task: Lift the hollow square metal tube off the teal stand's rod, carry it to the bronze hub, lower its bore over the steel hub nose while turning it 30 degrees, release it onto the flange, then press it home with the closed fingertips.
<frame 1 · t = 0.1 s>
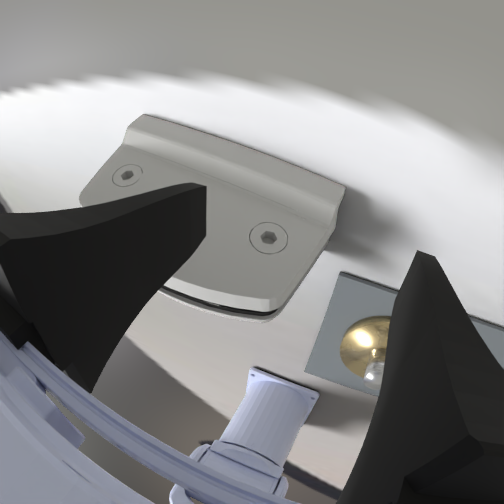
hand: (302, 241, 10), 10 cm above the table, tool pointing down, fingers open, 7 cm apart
hinge: (224, 189, 23), on the table
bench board: (418, 361, 23), on the table
hub: (383, 347, 24), resting on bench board
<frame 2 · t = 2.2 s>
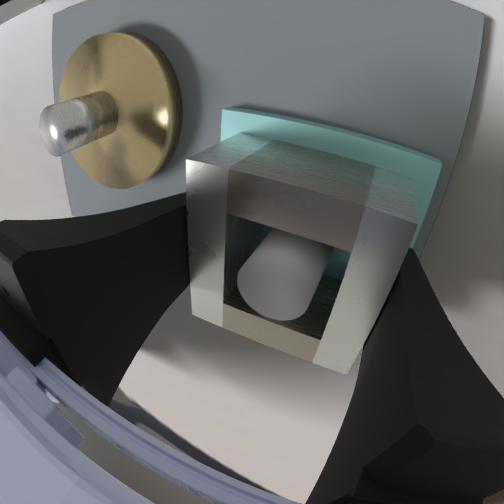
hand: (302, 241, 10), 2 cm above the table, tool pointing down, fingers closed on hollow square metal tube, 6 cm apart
hinge: (2, 1, 12), on the table
stand: (313, 221, 11), resting on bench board
hollow square metal tube: (309, 229, 11), point 1 cm above the table, touching gripper, stand
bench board: (193, 130, 12), on the table
hub: (119, 108, 12), resting on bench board
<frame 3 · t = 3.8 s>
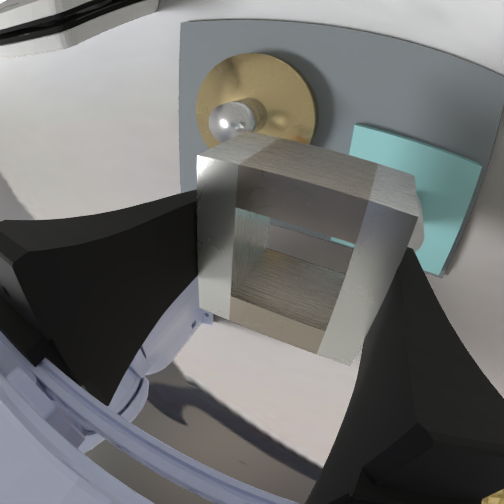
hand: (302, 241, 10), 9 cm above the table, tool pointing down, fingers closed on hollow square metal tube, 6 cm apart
stand: (404, 200, 16), resting on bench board
hollow square metal tube: (313, 225, 11), point 8 cm above the table, touching gripper
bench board: (322, 135, 17), on the table
hub: (257, 112, 17), resting on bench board
when the fingers open (3 cm above the table, at t = 5.6 s): hollow square metal tube stays where it is, resting on hub.
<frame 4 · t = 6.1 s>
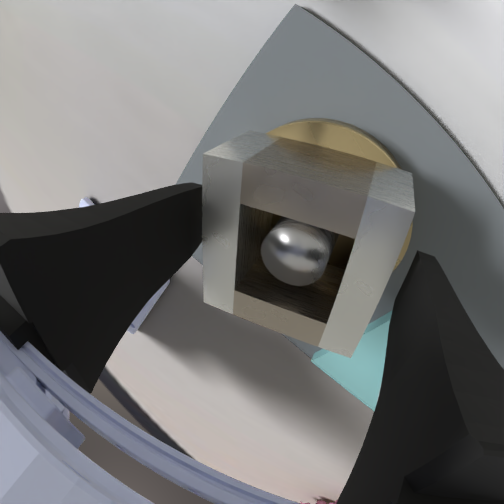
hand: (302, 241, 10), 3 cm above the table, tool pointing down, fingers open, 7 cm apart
stand: (402, 366, 15), resting on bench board
hollow square metal tube: (314, 221, 11), point 1 cm above the table, touching hub
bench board: (374, 275, 13), on the table
hub: (321, 208, 12), resting on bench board
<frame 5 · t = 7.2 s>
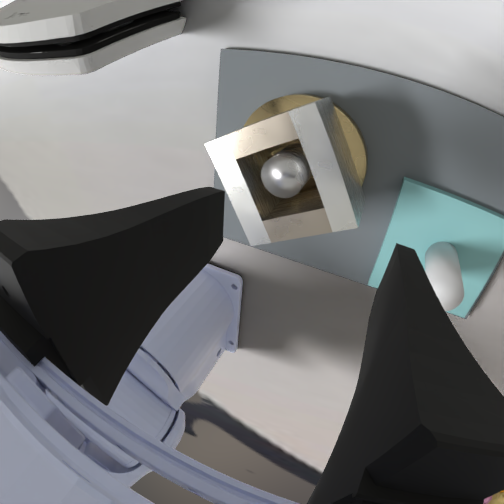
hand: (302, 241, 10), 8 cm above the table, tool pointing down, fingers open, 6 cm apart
hinge: (106, 7, 16), on the table
stand: (440, 251, 16), resting on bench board
hollow square metal tube: (299, 163, 16), point 1 cm above the table, touching hub
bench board: (368, 185, 16), on the table
hub: (303, 156, 17), resting on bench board
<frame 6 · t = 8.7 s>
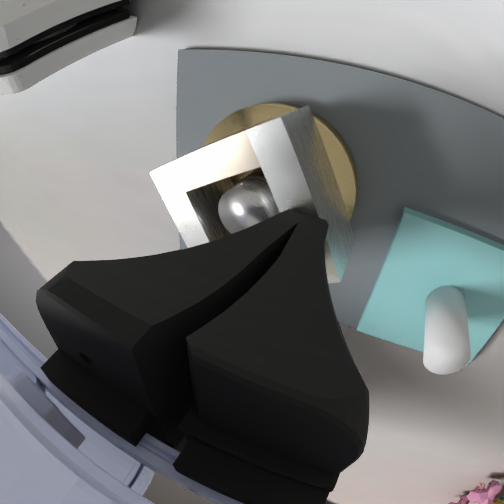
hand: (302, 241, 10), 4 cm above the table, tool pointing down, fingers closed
hinge: (63, 9, 14), on the table
stand: (444, 294, 13), resting on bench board
hollow square metal tube: (271, 190, 13), point 1 cm above the table, touching hub
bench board: (359, 215, 14), on the table
hub: (279, 180, 14), resting on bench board
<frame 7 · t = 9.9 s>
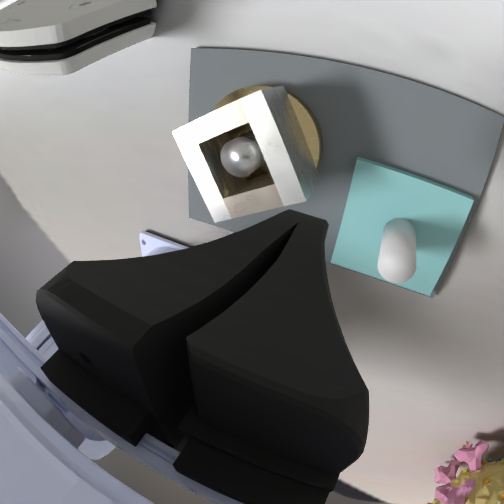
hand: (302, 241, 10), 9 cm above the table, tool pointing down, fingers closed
hinge: (91, 12, 18), on the table
educational model: (493, 449, 24), on the table
stand: (399, 228, 18), resting on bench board
hollow square metal tube: (259, 147, 18), point 1 cm above the table, touching hub
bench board: (325, 166, 18), on the table
hub: (265, 141, 18), resting on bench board
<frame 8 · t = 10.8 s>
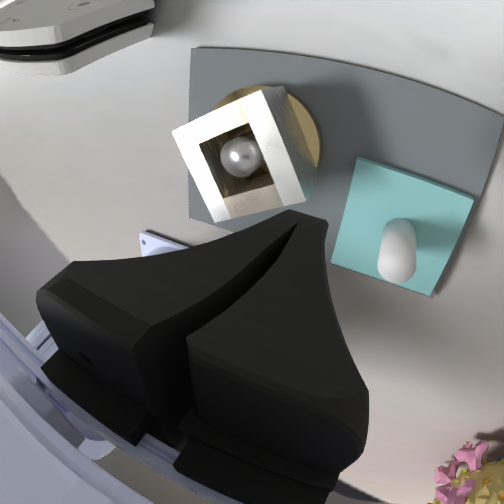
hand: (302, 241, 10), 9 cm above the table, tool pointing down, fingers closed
hinge: (90, 11, 18), on the table
educational model: (493, 449, 24), on the table
stand: (399, 228, 18), resting on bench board
hollow square metal tube: (259, 147, 18), point 1 cm above the table, touching hub
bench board: (325, 166, 18), on the table
hub: (265, 141, 18), resting on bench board
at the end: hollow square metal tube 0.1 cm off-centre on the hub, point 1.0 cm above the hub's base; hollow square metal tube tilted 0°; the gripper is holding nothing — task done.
